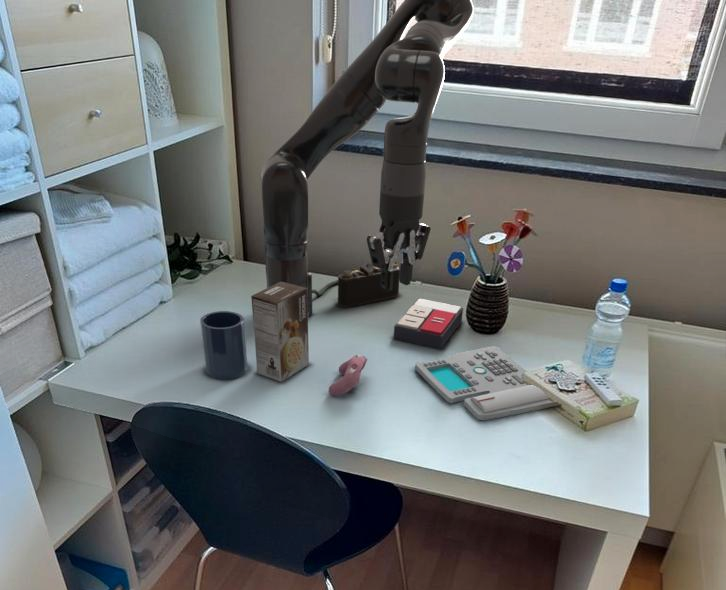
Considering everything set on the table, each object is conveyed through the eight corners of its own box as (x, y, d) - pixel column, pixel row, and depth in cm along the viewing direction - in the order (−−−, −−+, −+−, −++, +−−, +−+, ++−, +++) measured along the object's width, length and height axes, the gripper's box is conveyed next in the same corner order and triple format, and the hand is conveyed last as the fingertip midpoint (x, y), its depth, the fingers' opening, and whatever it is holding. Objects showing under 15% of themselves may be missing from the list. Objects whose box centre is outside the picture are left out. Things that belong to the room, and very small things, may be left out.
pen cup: (233, 356, 138) (228, 307, 132) (255, 371, 133) (252, 321, 127) (198, 367, 134) (192, 317, 127) (220, 383, 129) (214, 332, 123)
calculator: (393, 322, 145) (418, 295, 155) (392, 341, 147) (416, 312, 158) (442, 333, 141) (464, 304, 152) (440, 351, 144) (462, 322, 155)
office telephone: (565, 393, 126) (473, 414, 119) (562, 405, 127) (471, 426, 120) (496, 339, 142) (412, 355, 135) (494, 351, 144) (410, 366, 137)
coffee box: (284, 356, 139) (281, 279, 129) (309, 364, 136) (308, 287, 126) (255, 373, 133) (250, 294, 123) (281, 383, 130) (278, 303, 120)
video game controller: (346, 406, 127) (364, 379, 123) (325, 393, 126) (342, 365, 122) (357, 381, 135) (374, 354, 130) (337, 369, 134) (354, 342, 130)
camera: (387, 287, 170) (389, 255, 165) (402, 297, 165) (404, 264, 160) (329, 299, 163) (329, 266, 158) (343, 309, 158) (343, 275, 154)
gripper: (386, 200, 109) (381, 302, 120) (447, 187, 117) (437, 284, 127) (356, 189, 113) (353, 289, 124) (416, 177, 121) (409, 272, 132)
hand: (395, 286), depth 125 cm, fingers open, 4 cm apart
